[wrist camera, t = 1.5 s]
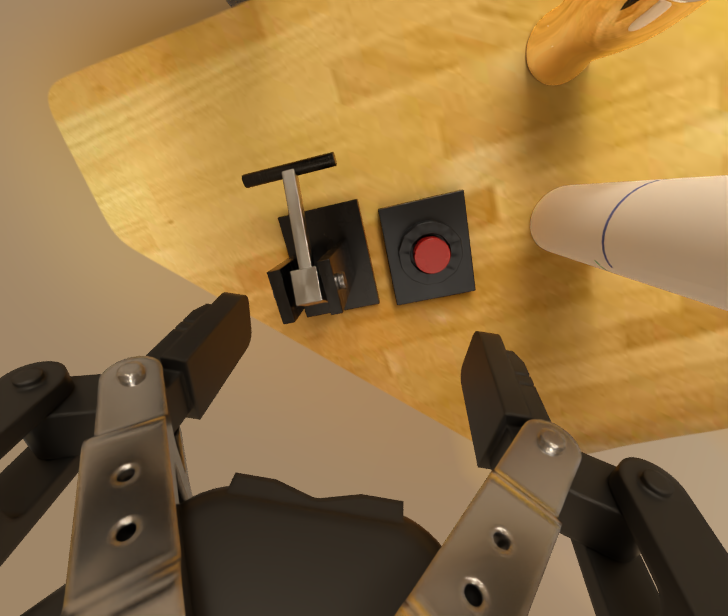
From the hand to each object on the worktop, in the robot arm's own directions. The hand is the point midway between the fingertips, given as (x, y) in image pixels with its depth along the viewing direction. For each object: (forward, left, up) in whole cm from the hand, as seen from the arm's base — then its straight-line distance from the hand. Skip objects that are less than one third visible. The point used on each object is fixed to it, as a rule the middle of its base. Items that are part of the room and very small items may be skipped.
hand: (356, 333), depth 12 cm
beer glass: (-14, +21, -27) cm, 37 cm away
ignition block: (+2, +6, -27) cm, 28 cm away
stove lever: (-3, -5, -18) cm, 19 cm away
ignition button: (+2, +6, -24) cm, 25 cm away
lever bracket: (+1, -5, -27) cm, 28 cm away
